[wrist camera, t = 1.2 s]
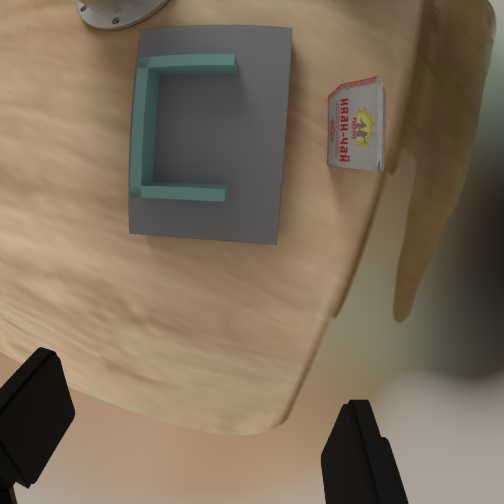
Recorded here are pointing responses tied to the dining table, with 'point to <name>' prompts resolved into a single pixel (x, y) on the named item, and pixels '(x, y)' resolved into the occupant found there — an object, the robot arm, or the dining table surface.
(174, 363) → the dining table surface
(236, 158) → the dock
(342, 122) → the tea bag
